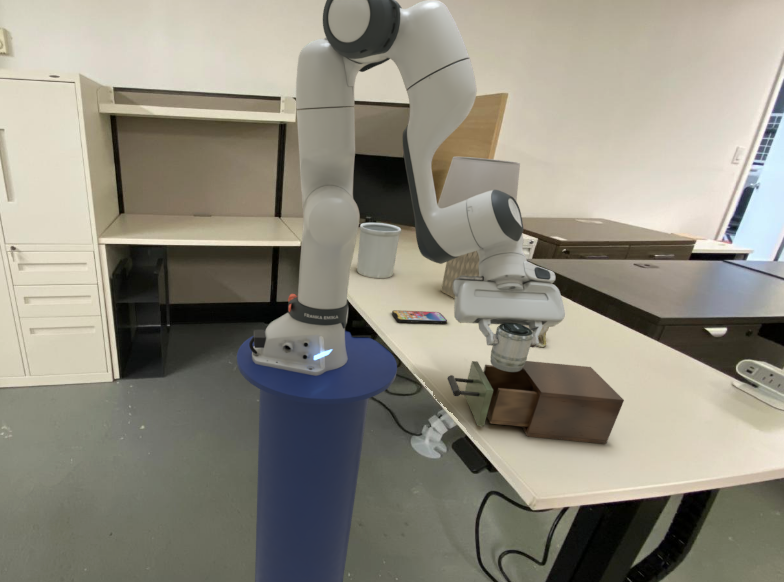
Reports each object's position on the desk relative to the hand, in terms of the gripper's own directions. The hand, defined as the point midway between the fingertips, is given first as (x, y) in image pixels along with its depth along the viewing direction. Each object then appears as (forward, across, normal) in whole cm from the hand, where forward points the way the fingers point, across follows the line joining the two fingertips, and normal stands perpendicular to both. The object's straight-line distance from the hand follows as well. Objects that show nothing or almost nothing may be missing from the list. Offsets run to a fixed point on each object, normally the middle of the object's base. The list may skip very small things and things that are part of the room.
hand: (513, 345), depth 85 cm
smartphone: (-24, -2, +47) cm, 53 cm away
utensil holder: (-56, -8, +78) cm, 97 cm away
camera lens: (+3, 0, +4) cm, 5 cm away
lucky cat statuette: (-16, +27, +39) cm, 50 cm away
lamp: (-42, +18, +64) cm, 79 cm away
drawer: (+10, 0, +11) cm, 15 cm away
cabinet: (+12, +12, +10) cm, 20 cm away
